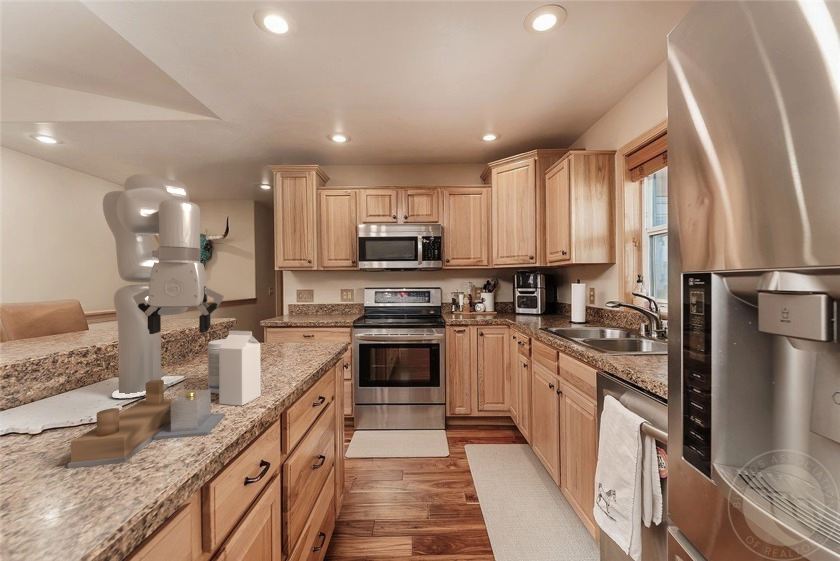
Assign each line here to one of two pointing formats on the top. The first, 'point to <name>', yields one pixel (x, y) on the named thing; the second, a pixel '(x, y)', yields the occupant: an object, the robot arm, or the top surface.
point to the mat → (203, 430)
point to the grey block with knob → (190, 410)
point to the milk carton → (239, 369)
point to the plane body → (123, 430)
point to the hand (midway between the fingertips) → (179, 332)
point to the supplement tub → (214, 365)
